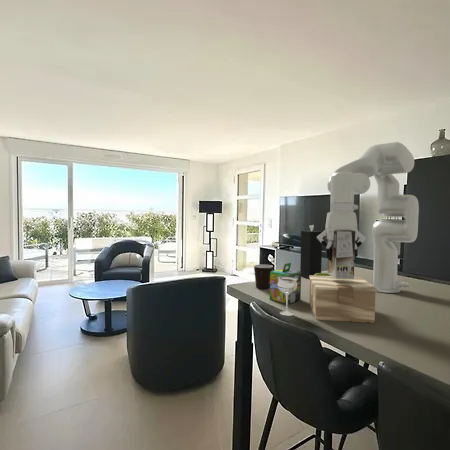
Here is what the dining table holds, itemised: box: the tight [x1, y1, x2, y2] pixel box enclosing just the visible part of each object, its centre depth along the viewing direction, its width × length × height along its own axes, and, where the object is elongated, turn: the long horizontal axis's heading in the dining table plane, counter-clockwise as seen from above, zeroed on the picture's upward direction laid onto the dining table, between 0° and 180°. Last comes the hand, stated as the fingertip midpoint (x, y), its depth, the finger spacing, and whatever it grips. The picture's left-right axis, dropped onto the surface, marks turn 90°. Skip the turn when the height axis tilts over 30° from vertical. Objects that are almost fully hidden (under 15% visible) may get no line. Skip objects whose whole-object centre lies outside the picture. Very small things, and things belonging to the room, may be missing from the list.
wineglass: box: [277, 277, 297, 317], centre depth 104 cm, size 7×7×12 cm
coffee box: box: [327, 230, 356, 279], centre depth 105 cm, size 9×6×16 cm
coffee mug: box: [253, 263, 274, 291], centre depth 138 cm, size 12×9×10 cm
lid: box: [309, 275, 378, 304], centre depth 105 cm, size 18×19×5 cm
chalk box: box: [269, 262, 302, 305], centre depth 120 cm, size 9×9×15 cm
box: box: [309, 279, 376, 324], centre depth 106 cm, size 17×18×10 cm
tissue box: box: [299, 224, 323, 280], centre depth 161 cm, size 8×8×28 cm
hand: (340, 259), depth 105 cm, fingers closed on coffee box, 6 cm apart
